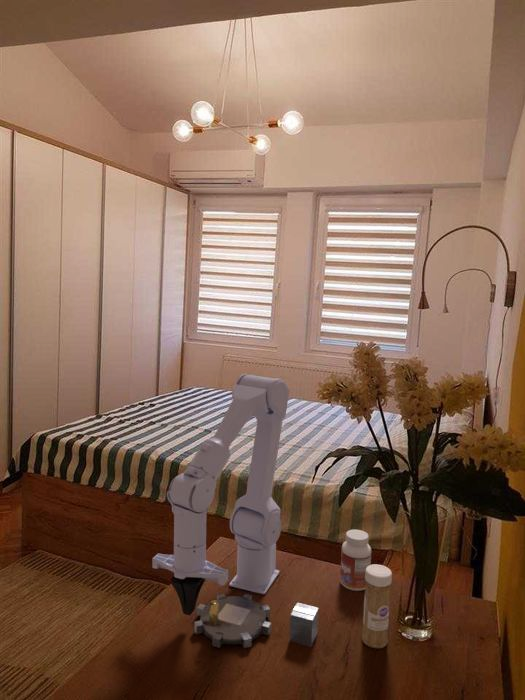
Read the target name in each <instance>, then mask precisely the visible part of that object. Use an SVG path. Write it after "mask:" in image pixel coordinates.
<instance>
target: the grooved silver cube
mask: <svg viewBox="0 0 525 700" xmlns="http://www.w3.org/2000/svg"><path fill="white" fill-rule="evenodd" d="M289 616H290V621H289V622H290V623H289V641H290V642H293V643H296V644H300V645H303V646H307V647H312V646H313V644H314V642H315V639H316V637H317V635H318V630H319V627H318V626H319V607H317V606H313V605H309V604H305V603H300V602H297V603H296V604H295V606H294V608H293V609H292V610H291V613H290V615H289Z"/></svg>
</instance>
